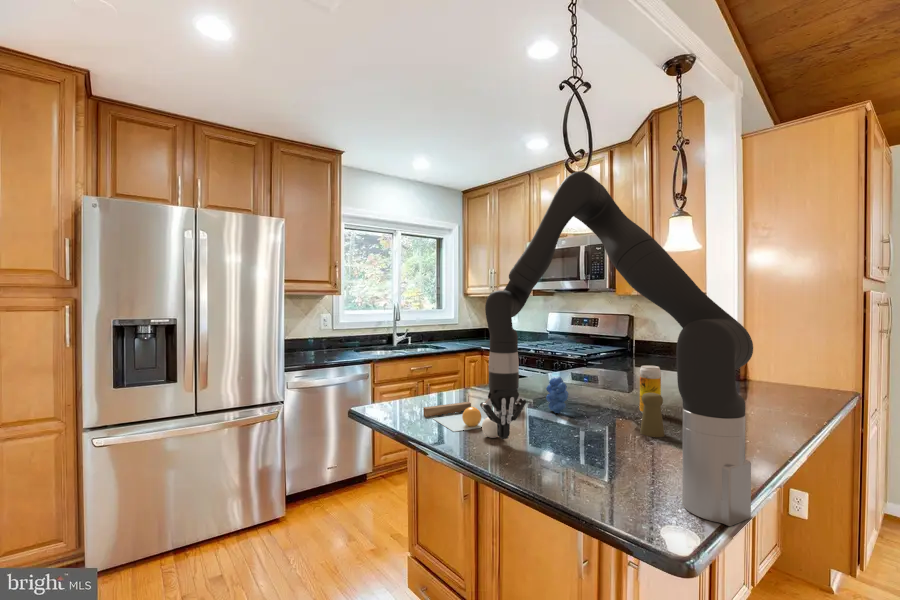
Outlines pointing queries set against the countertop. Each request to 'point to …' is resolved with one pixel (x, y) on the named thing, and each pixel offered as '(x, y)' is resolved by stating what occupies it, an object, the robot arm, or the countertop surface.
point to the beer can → (649, 381)
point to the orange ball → (471, 416)
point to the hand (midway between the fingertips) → (503, 438)
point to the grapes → (557, 394)
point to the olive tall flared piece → (652, 415)
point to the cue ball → (489, 428)
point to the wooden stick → (445, 409)
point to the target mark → (456, 423)
